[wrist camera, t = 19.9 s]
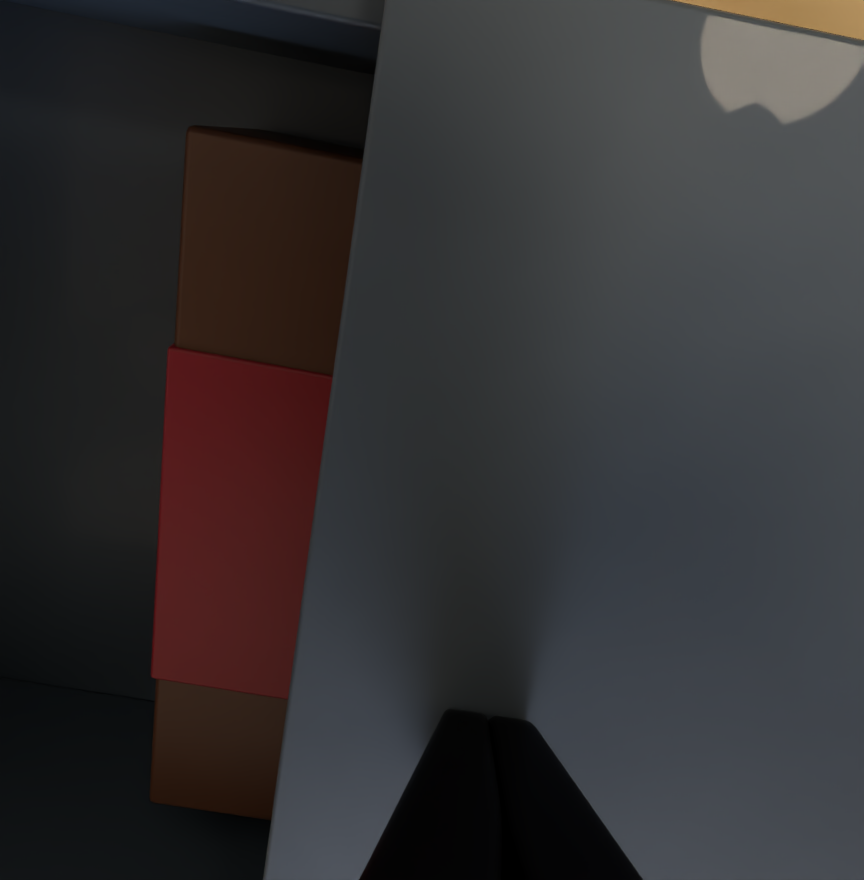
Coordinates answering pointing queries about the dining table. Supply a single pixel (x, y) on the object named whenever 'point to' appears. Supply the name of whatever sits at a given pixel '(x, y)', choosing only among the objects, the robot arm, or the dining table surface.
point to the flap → (597, 435)
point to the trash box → (117, 388)
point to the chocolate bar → (243, 452)
